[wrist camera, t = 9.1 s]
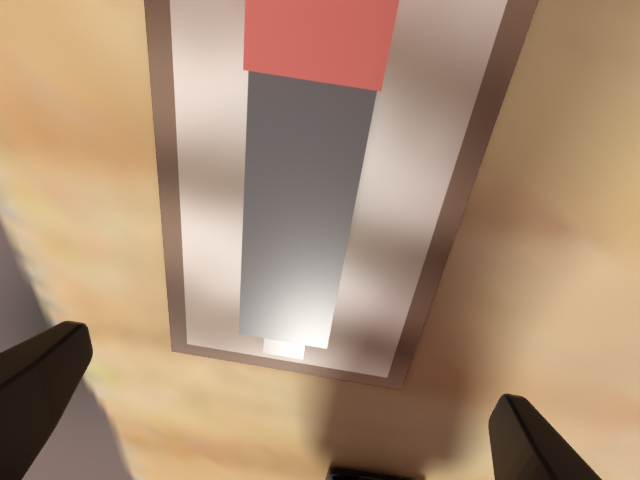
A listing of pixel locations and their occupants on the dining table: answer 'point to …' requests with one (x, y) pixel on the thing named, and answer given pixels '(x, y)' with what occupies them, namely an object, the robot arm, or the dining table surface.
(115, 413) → the dining table surface
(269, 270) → the marker
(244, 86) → the picture frame
